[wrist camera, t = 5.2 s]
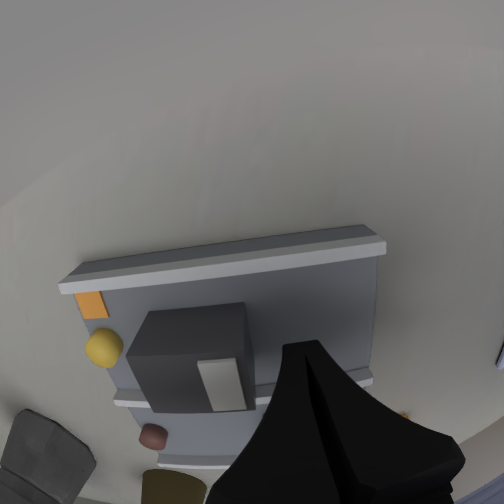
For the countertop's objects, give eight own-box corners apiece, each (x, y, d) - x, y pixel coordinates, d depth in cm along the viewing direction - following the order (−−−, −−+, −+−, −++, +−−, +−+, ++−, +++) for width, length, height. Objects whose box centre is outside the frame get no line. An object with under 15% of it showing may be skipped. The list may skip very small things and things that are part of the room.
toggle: (244, 301, 11) (243, 352, 8) (254, 359, 12) (256, 413, 9) (148, 311, 12) (123, 358, 9) (168, 365, 13) (152, 416, 10)
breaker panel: (364, 224, 12) (388, 243, 10) (349, 426, 17) (358, 453, 14) (82, 263, 12) (55, 285, 10) (165, 441, 17) (158, 468, 15)
